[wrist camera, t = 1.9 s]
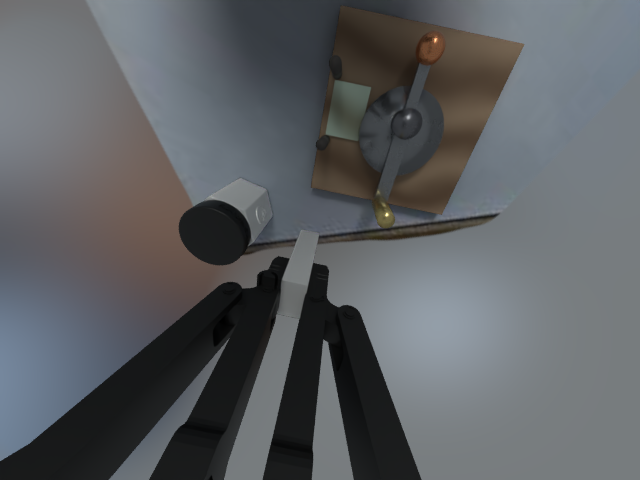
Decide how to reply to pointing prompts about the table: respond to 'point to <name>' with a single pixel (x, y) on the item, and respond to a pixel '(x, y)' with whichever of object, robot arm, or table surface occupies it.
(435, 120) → the grey metal domed piece
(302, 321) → the robot arm
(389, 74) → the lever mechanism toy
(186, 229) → the jar
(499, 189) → the table surface
